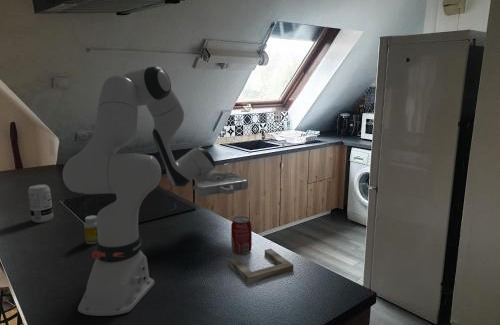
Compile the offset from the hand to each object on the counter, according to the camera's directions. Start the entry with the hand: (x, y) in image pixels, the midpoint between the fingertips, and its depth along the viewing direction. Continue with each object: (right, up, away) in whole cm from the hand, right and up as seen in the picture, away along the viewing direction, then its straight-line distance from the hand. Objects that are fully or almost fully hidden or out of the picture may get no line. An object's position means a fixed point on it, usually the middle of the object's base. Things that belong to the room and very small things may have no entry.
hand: (230, 191), depth 133 cm
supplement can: (-83, -15, +28) cm, 89 cm away
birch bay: (+10, -23, -14) cm, 29 cm away
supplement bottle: (-52, -19, +6) cm, 56 cm away
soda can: (+4, -21, -3) cm, 22 cm away
